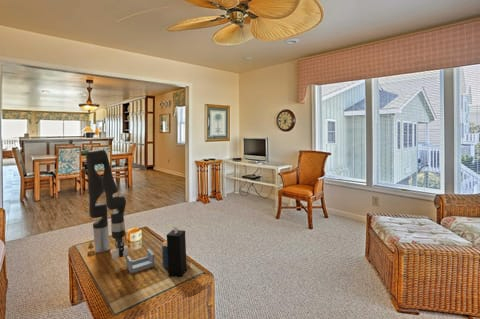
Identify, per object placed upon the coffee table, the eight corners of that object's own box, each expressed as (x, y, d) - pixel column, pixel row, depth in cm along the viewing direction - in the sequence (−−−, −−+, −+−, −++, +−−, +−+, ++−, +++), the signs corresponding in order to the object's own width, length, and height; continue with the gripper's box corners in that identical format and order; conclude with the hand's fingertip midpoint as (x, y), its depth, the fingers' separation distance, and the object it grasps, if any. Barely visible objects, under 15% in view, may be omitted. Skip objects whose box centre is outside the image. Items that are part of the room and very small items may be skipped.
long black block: (181, 277, 147) (179, 230, 144) (168, 276, 148) (166, 229, 145) (186, 270, 155) (185, 225, 151) (174, 269, 156) (172, 224, 153)
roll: (112, 258, 154) (111, 249, 156) (111, 260, 158) (109, 251, 160) (129, 253, 160) (127, 244, 162) (127, 255, 164) (125, 246, 166)
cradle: (126, 266, 160) (125, 255, 159) (149, 259, 168) (148, 248, 168) (130, 273, 152) (129, 261, 151) (154, 266, 160) (153, 254, 160)
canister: (170, 257, 170) (169, 231, 169) (187, 260, 166) (186, 234, 164) (158, 267, 158) (156, 239, 156) (176, 271, 154) (175, 242, 152)
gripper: (109, 226, 162) (110, 252, 164) (114, 234, 150) (116, 261, 153) (121, 223, 166) (123, 248, 169) (127, 231, 155) (129, 257, 157)
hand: (120, 254), depth 161 cm, fingers closed on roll, 5 cm apart
